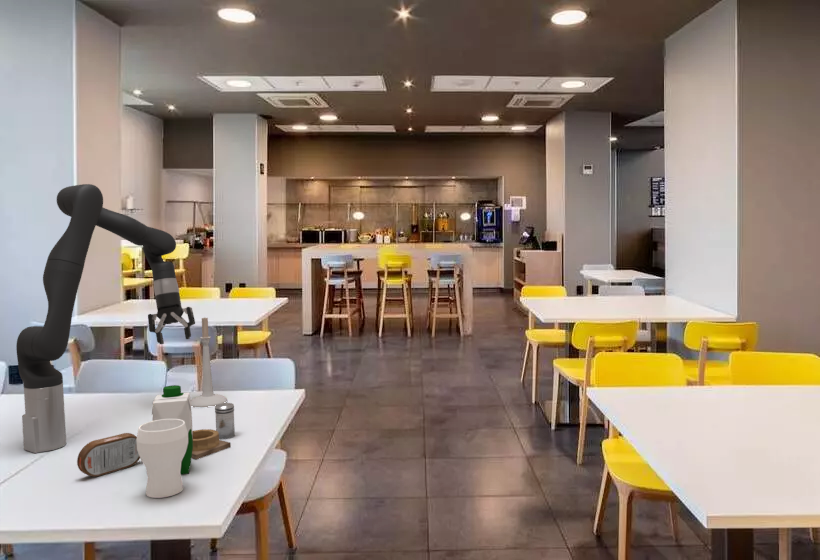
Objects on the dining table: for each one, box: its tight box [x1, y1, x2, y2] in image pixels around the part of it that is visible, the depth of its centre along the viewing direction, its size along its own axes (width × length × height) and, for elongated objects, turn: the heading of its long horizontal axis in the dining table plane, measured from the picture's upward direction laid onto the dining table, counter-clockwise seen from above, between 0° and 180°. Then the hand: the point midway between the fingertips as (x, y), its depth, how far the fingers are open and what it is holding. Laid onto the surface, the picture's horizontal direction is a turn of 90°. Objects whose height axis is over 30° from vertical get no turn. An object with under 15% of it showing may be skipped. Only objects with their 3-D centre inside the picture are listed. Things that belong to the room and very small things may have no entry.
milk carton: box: [151, 384, 193, 475], centre depth 148 cm, size 9×9×20 cm
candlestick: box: [190, 317, 228, 408], centre depth 210 cm, size 13×13×30 cm
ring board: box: [191, 428, 232, 460], centre depth 163 cm, size 11×11×4 cm
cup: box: [136, 419, 188, 499], centre depth 135 cm, size 11×11×15 cm
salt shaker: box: [214, 402, 236, 440], centre depth 174 cm, size 5×5×9 cm
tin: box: [76, 432, 141, 478], centre depth 148 cm, size 15×3×8 cm, turn 141°
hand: (174, 341), depth 201 cm, fingers open, 8 cm apart
